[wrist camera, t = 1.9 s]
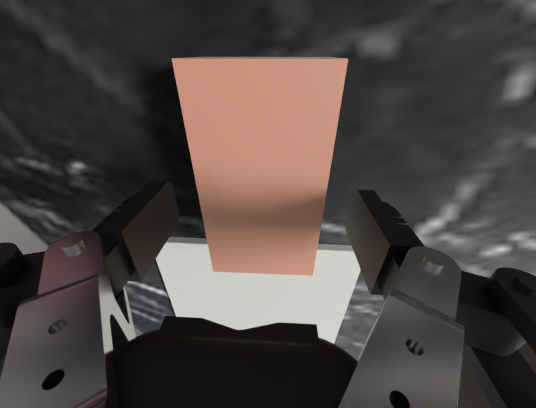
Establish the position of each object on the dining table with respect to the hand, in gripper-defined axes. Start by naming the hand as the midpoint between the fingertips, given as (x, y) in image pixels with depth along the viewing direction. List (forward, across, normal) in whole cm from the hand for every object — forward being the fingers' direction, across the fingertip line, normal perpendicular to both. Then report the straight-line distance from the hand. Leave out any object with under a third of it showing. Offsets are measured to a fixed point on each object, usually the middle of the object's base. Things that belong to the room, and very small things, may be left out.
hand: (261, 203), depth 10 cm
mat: (+4, 0, +13) cm, 13 cm away
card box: (+4, 0, -1) cm, 4 cm away
